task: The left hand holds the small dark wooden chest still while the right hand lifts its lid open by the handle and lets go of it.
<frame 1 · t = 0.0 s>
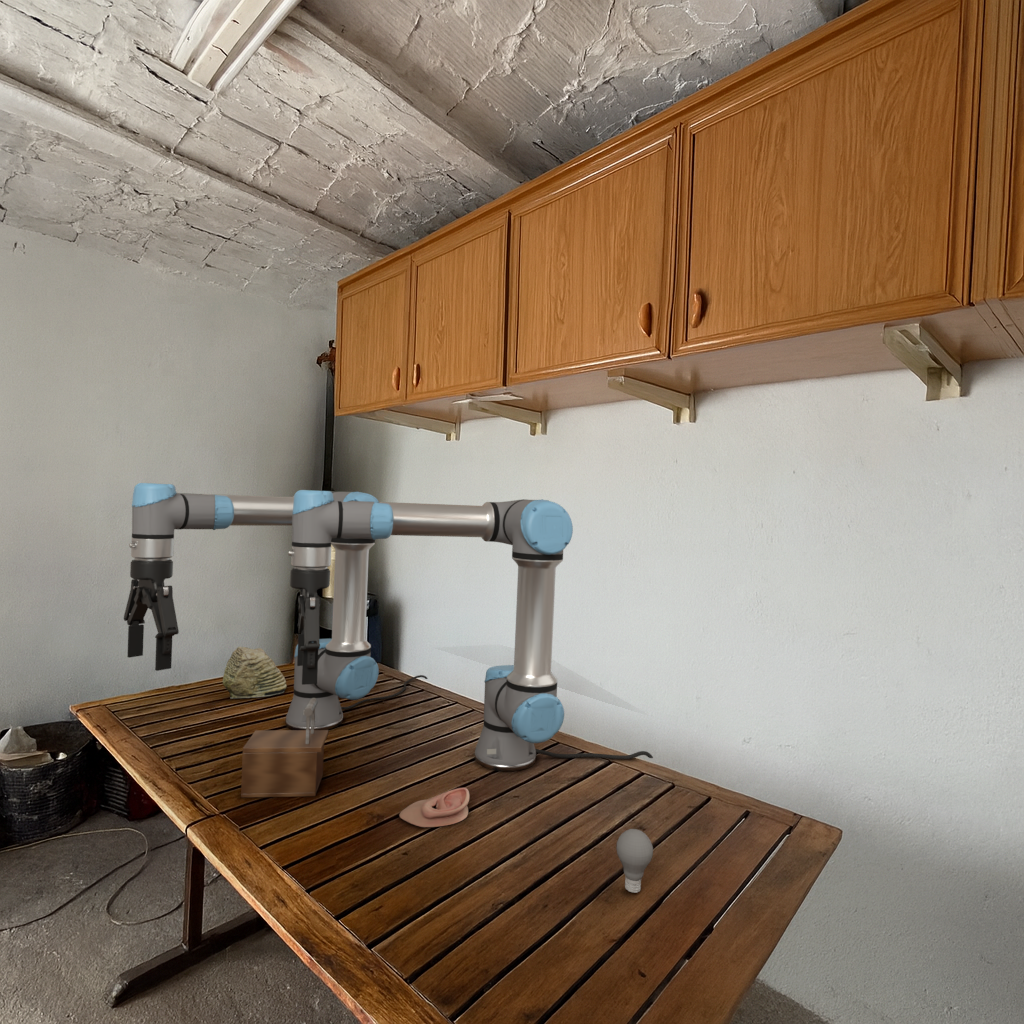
left hand: (148, 662, 129), 28 cm above the table, tool pointing down, fingers open, 13 cm apart
right hand: (306, 674, 126), 28 cm above the table, tool pointing down, fingers open, 13 cm apart
anatomical model: (434, 814, 128), on the table
fossil: (254, 694, 198), on the table
lid: (288, 722, 138), point 14 cm above the table, hinge at 0.0°
chest: (283, 786, 138), on the table
light bulb: (632, 891, 106), on the table
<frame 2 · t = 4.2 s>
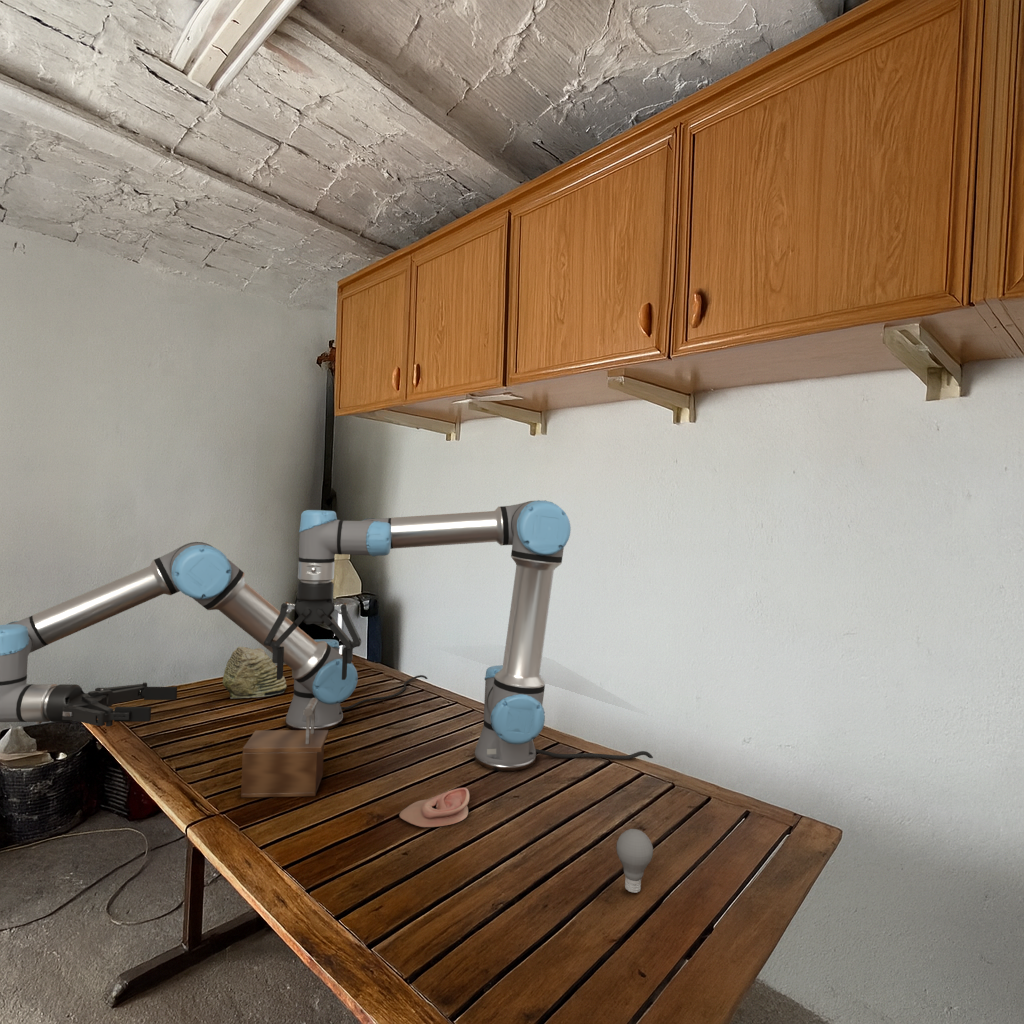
left hand: (164, 703, 134), 18 cm above the table, tool horizontal, fingers open, 13 cm apart
right hand: (312, 678, 138), 24 cm above the table, tool pointing down, fingers open, 13 cm apart
nothing on the table moved.
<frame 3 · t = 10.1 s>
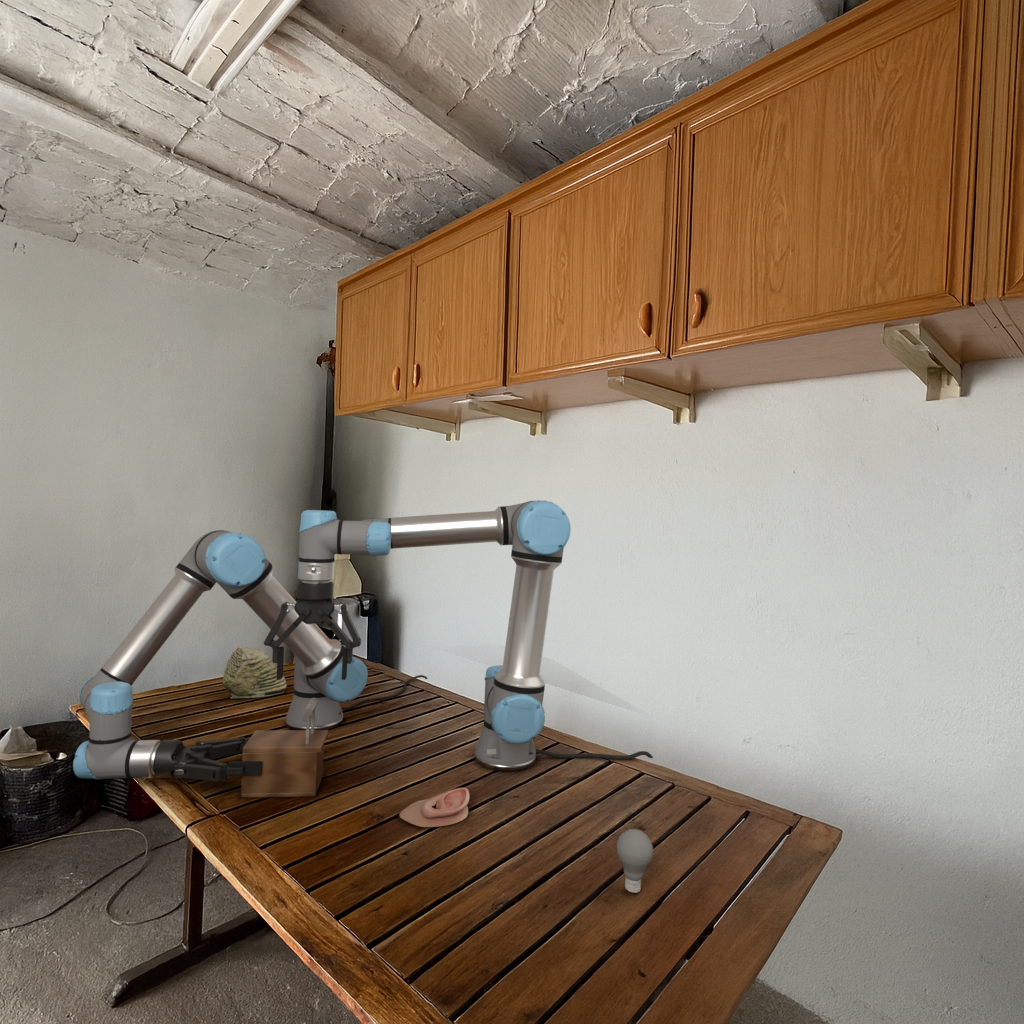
left hand: (268, 757, 137), 6 cm above the table, tool horizontal, fingers closed on chest, 10 cm apart
right hand: (312, 678, 138), 24 cm above the table, tool pointing down, fingers open, 13 cm apart
chest: (283, 786, 138), on the table, touching left hand
everything else where it was.
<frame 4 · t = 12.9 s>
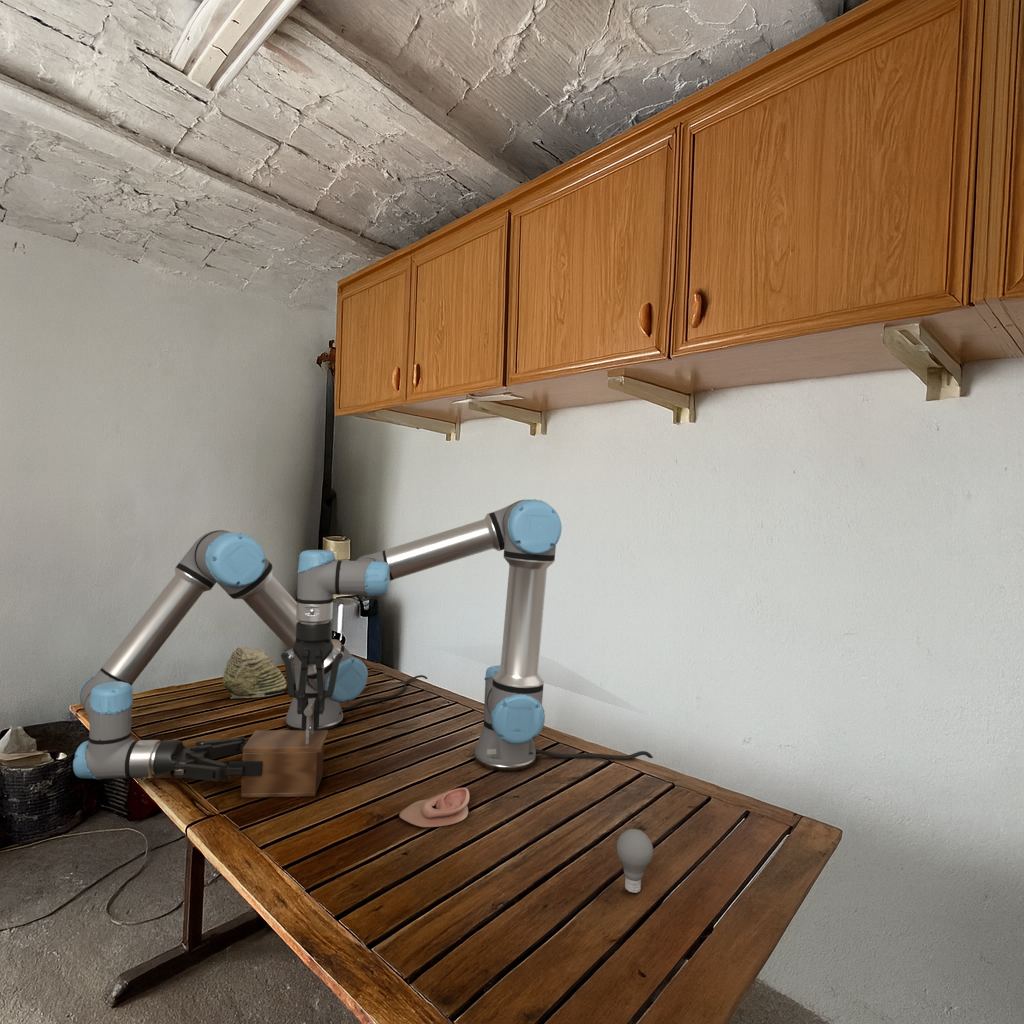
left hand: (268, 757, 137), 6 cm above the table, tool horizontal, fingers closed on chest, 10 cm apart
right hand: (310, 728, 138), 13 cm above the table, tool pointing down, fingers closed on lid, 2 cm apart
lid: (288, 723, 138), point 14 cm above the table, hinge at -0.1°, touching right hand
chest: (283, 786, 138), on the table, touching left hand
everything else where it was.
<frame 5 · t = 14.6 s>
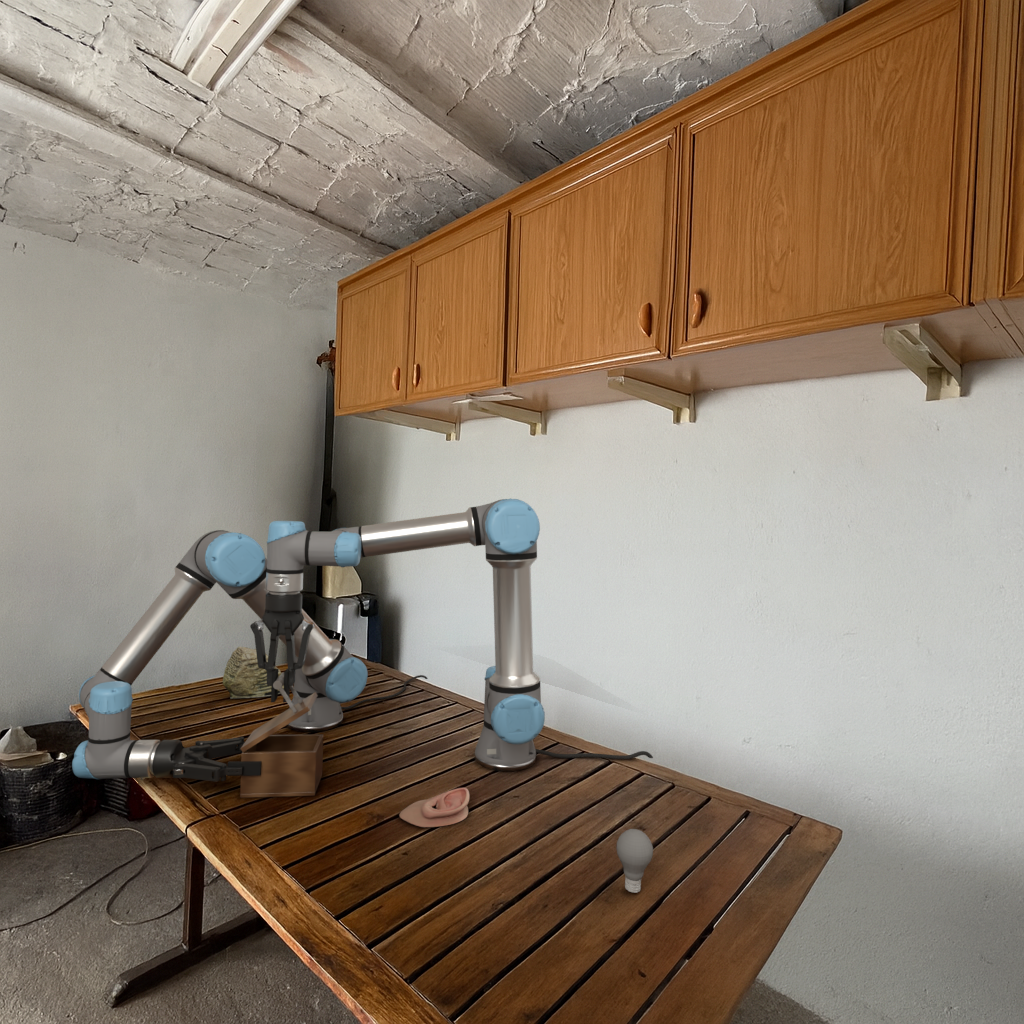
left hand: (267, 757, 137), 6 cm above the table, tool horizontal, fingers closed on chest, 10 cm apart
right hand: (280, 700, 137), 19 cm above the table, tool pointing down, fingers closed on lid, 2 cm apart
lid: (270, 706, 137), point 18 cm above the table, hinge at 33.3°, touching right hand
chest: (283, 785, 138), on the table, touching left hand
everything else where it was.
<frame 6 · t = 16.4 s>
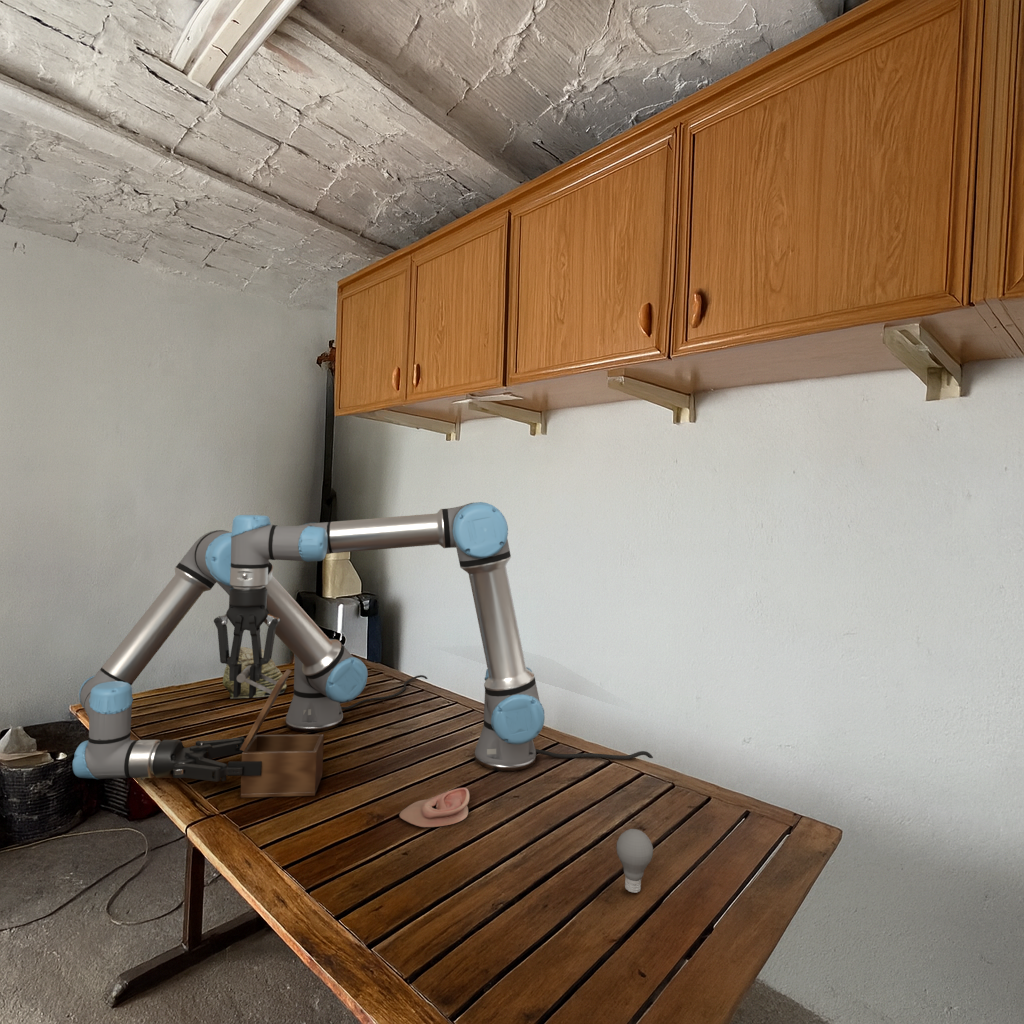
left hand: (267, 757, 137), 6 cm above the table, tool horizontal, fingers closed on chest, 10 cm apart
right hand: (244, 695, 136), 20 cm above the table, tool pointing down, fingers open, 2 cm apart
lid: (249, 700, 136), point 19 cm above the table, hinge at 63.3°
chest: (283, 785, 138), on the table, touching left hand
everything else where it was.
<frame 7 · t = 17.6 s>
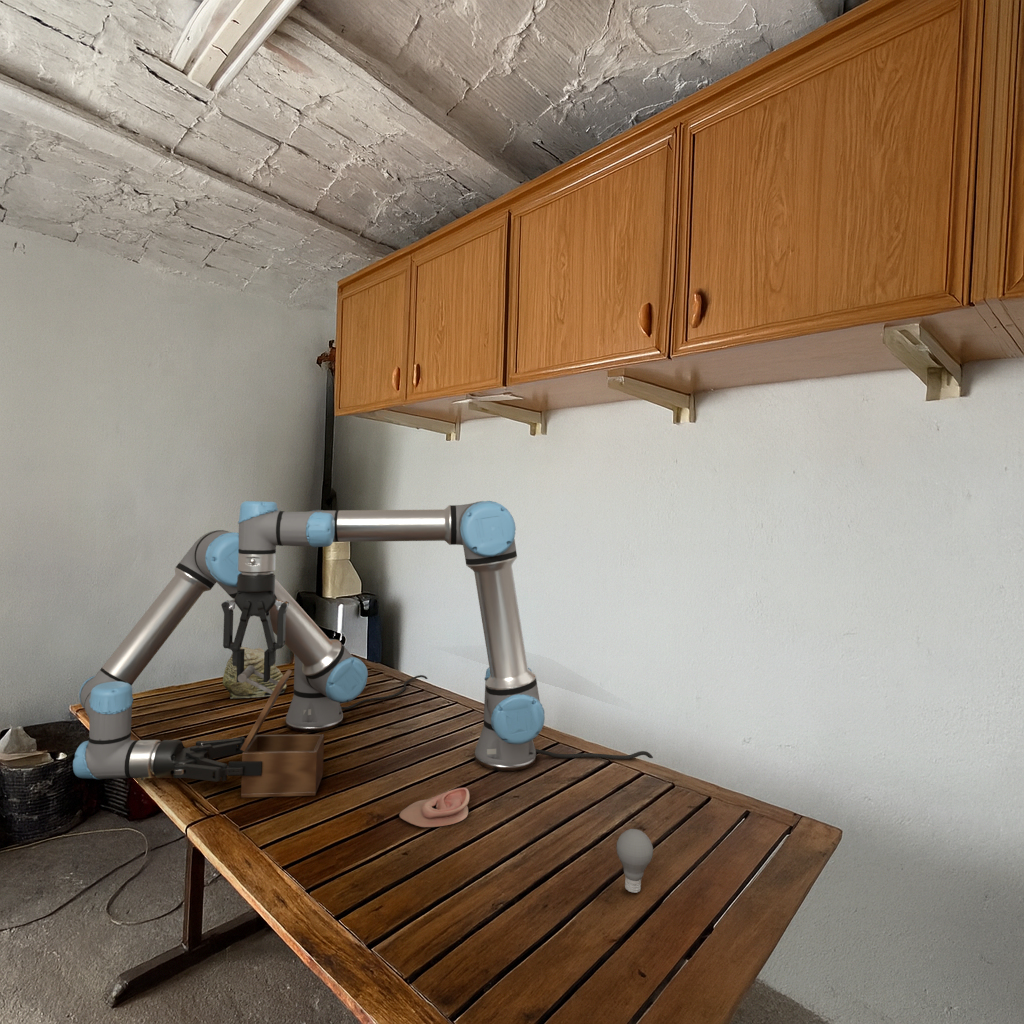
left hand: (267, 757, 137), 6 cm above the table, tool horizontal, fingers closed on chest, 10 cm apart
right hand: (253, 680, 136), 23 cm above the table, tool pointing down, fingers open, 5 cm apart
lid: (250, 700, 136), point 19 cm above the table, hinge at 62.7°, touching right hand
chest: (283, 785, 138), on the table, touching left hand
everything else where it was.
when the left hand's fingers open (6 cm above the table, at t = 20.5 s): chest stays where it is, on the table.
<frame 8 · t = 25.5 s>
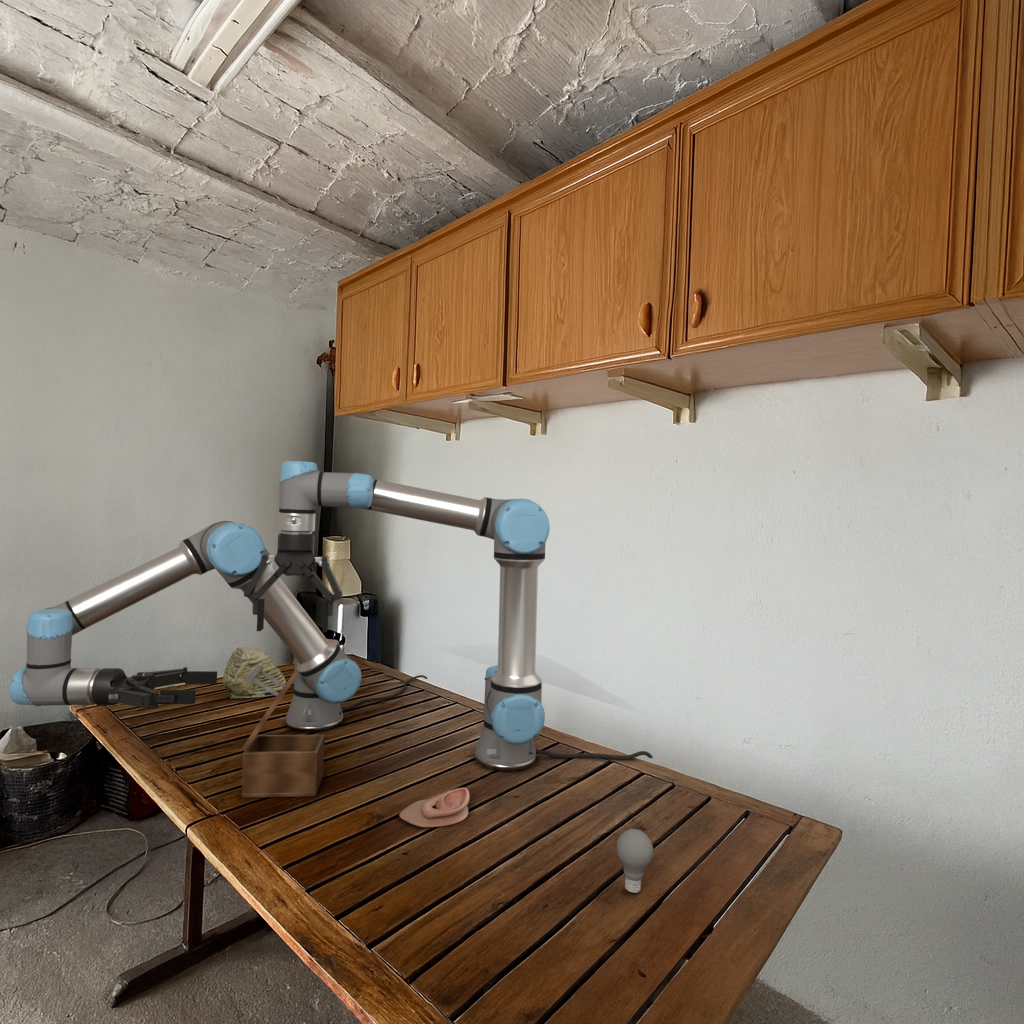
left hand: (206, 686, 135), 22 cm above the table, tool horizontal, fingers open, 13 cm apart
right hand: (292, 630, 137), 34 cm above the table, tool pointing down, fingers open, 13 cm apart
lid: (255, 700, 137), point 19 cm above the table, hinge at 58.3°
chest: (284, 786, 138), on the table
everything else where it was.
at the end: lid at +58° (first picture: +0°); the left hand is holding nothing; the right hand is holding nothing; chest tilted 0°; chest never tilted more than 1° during the clip; chest moved 0.1 cm from its start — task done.
